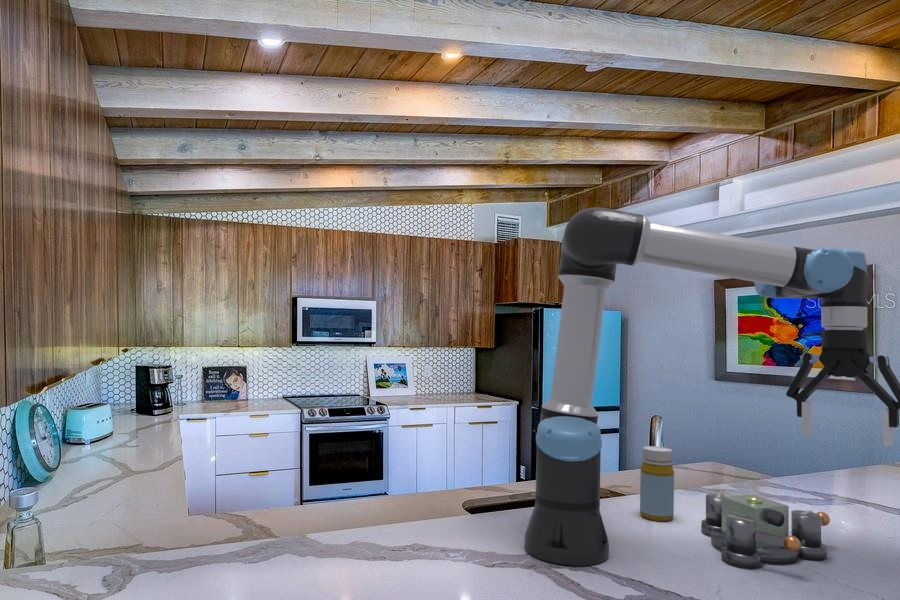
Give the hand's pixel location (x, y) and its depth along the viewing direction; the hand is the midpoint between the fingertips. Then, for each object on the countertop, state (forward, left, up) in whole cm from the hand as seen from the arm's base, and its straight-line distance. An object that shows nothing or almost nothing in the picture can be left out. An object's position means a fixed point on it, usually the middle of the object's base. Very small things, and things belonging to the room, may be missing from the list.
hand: (845, 439), depth 113 cm
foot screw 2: (-23, -2, -19) cm, 30 cm away
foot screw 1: (-15, +17, -19) cm, 29 cm away
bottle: (-22, +27, -21) cm, 41 cm away
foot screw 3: (-6, +2, -19) cm, 20 cm away
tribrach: (-17, +8, -21) cm, 28 cm away
